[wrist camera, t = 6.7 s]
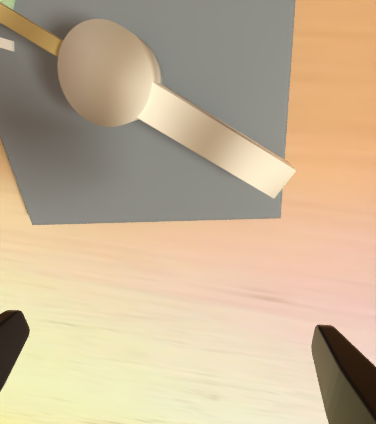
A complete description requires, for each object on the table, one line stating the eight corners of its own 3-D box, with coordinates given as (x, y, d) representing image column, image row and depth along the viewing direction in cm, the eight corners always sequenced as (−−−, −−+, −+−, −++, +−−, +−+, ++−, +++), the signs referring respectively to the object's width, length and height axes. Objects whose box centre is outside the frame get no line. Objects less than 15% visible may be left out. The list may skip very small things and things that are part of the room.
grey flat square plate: (300, -178, 11) (311, -213, 10) (276, 210, 18) (281, 219, 17) (-68, -98, 13) (-98, -118, 12) (42, 218, 21) (30, 226, 19)
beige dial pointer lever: (-36, 31, 14) (-91, 18, 12) (-24, -66, 13) (-85, -105, 10) (253, 200, 17) (260, 219, 14) (299, 139, 15) (316, 149, 12)
